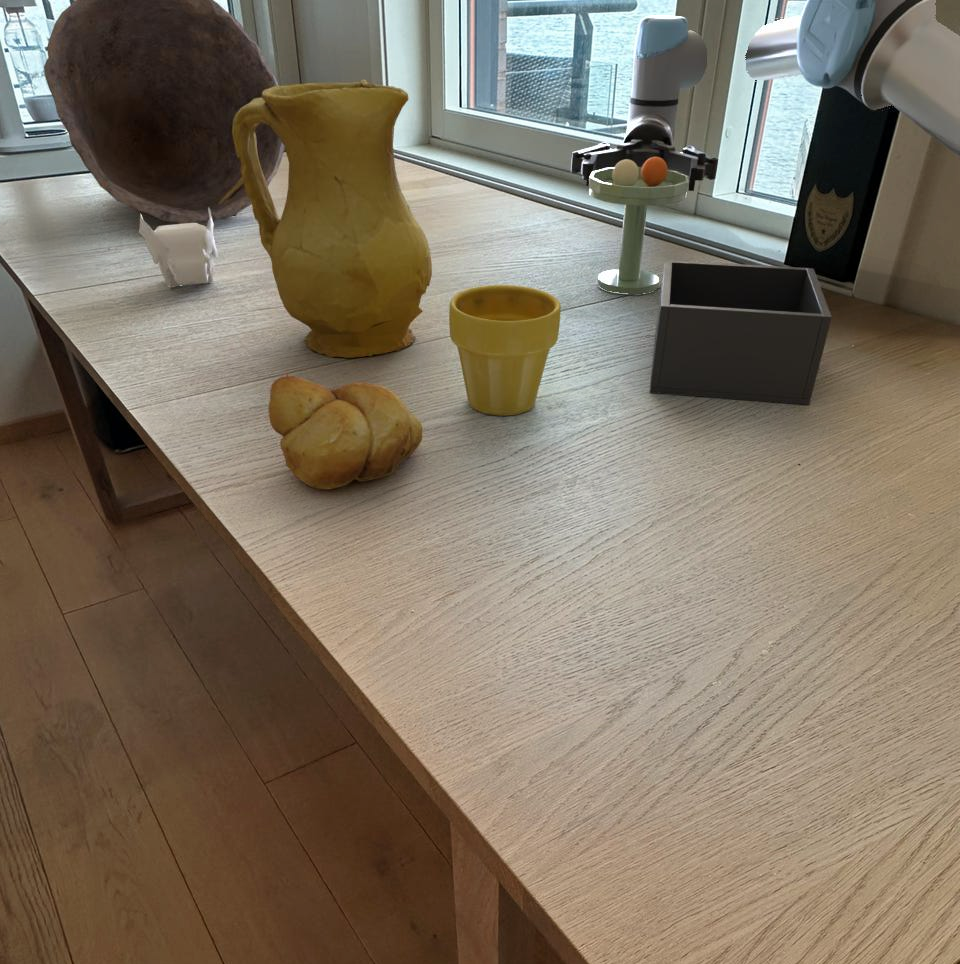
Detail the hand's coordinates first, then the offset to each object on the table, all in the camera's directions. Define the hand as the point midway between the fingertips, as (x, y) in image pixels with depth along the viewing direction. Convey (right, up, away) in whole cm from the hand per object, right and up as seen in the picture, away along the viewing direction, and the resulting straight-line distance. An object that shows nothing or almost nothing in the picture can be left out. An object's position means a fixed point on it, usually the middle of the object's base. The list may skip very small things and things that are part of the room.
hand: (640, 177), depth 114 cm
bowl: (-69, +12, +32) cm, 77 cm away
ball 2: (0, -4, -8) cm, 9 cm away
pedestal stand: (-2, -15, 0) cm, 15 cm away
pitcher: (-36, -27, -15) cm, 47 cm away
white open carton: (-60, -15, 0) cm, 62 cm away
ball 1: (-4, -5, -9) cm, 11 cm away
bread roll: (-32, -47, -40) cm, 70 cm away
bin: (+5, -33, -23) cm, 40 cm away
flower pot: (-19, -38, -29) cm, 52 cm away
